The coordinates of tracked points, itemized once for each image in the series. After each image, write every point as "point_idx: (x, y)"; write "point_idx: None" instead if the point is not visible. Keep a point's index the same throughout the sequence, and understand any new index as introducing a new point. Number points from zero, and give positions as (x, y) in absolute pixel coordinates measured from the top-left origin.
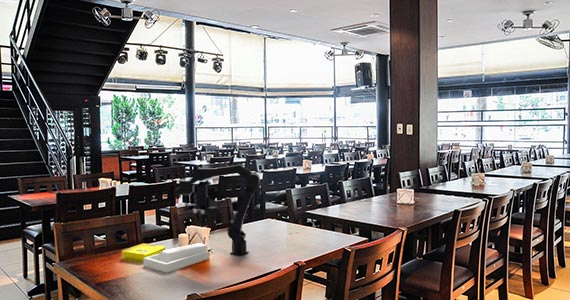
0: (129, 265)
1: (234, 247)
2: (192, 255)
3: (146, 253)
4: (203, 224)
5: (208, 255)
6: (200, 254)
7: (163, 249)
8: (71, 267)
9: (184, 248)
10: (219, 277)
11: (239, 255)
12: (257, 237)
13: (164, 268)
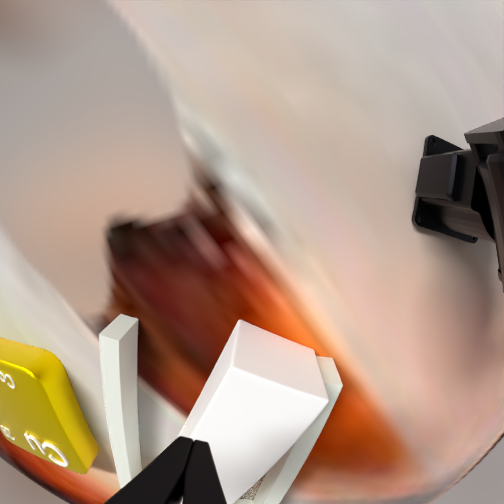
0: (92, 473)
1: (468, 233)
2: (292, 463)
3: (83, 469)
4: (215, 483)
5: (336, 371)
6: (318, 432)
7: (52, 390)
8: (22, 470)
9: (225, 480)
10: (448, 459)
11: (473, 242)
12: None
13: None
